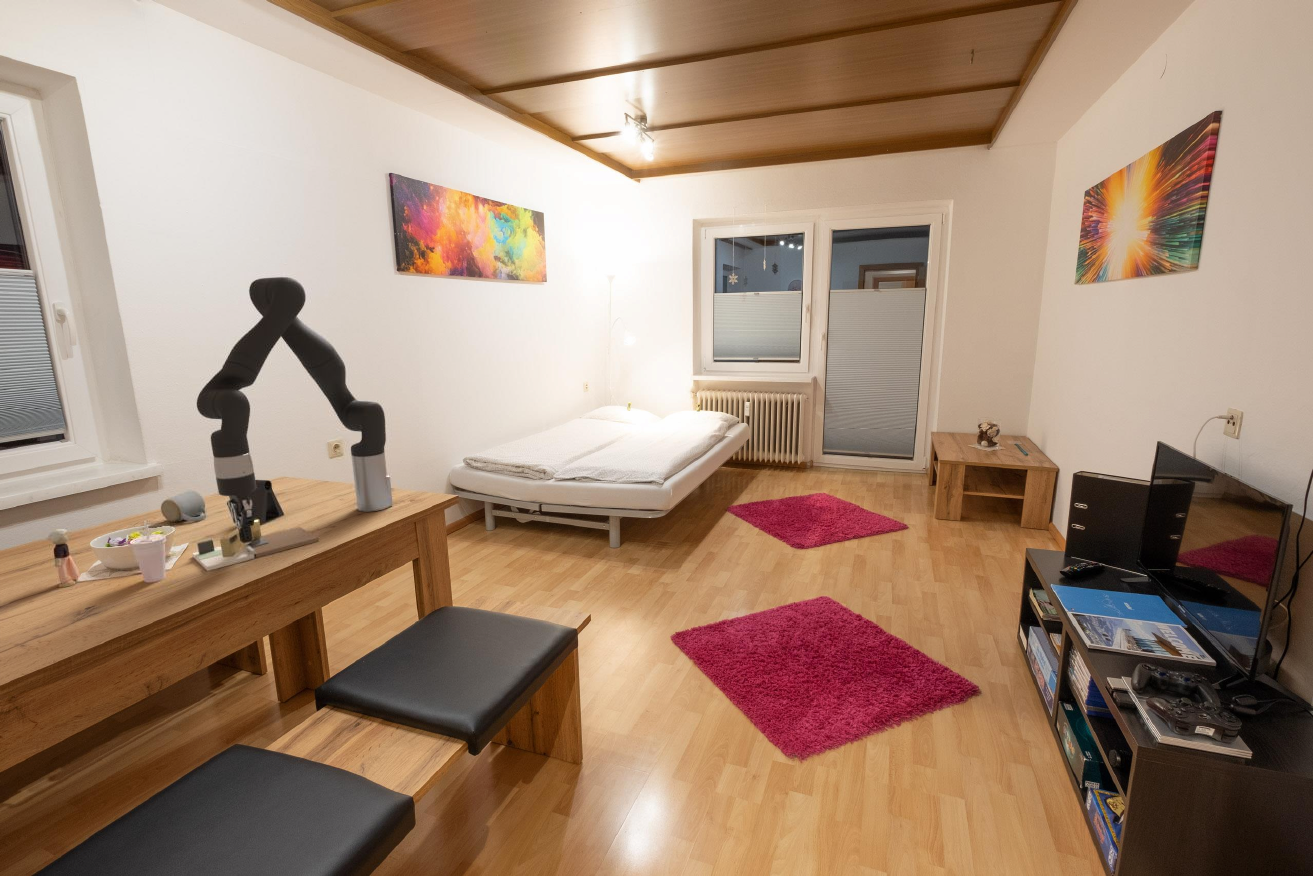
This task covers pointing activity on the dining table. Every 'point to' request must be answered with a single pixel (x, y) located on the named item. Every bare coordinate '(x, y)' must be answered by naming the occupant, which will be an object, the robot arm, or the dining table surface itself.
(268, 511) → the phone stand
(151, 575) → the smoothie
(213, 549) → the door mockup
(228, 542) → the swing bar
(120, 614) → the dining table surface
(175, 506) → the ceramic mug
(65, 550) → the grandmother figurine
